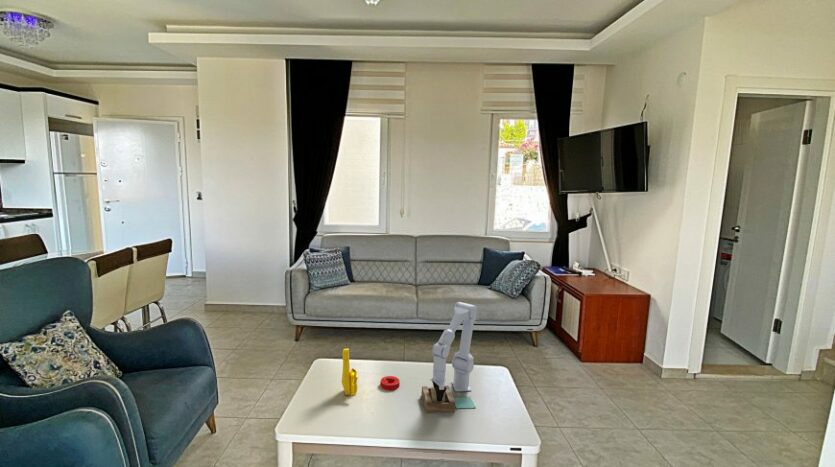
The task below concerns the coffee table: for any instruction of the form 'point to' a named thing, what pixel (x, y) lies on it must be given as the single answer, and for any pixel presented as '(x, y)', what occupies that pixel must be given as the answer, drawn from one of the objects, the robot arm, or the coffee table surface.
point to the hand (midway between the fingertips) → (437, 396)
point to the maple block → (433, 396)
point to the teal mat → (464, 403)
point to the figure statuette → (348, 375)
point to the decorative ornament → (390, 383)
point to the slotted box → (438, 406)
